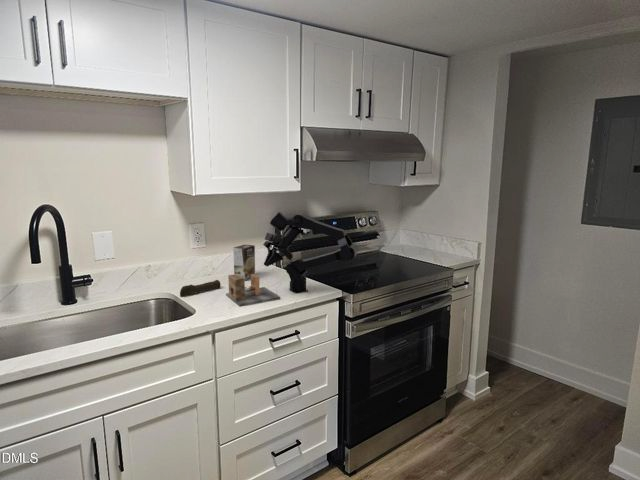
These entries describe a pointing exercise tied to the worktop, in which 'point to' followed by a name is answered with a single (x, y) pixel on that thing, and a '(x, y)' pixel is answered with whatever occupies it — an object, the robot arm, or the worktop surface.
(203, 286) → the dark brown rounded bar
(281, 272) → the worktop surface
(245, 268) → the coffee box
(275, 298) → the wooden block on baseplate
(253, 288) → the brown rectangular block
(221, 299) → the worktop surface
